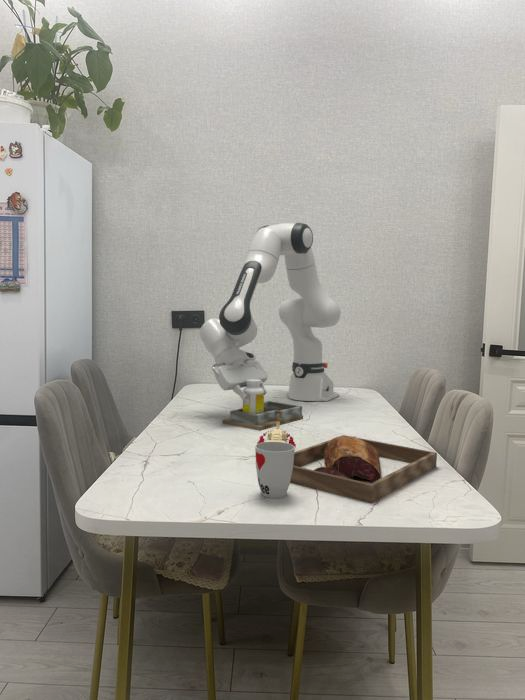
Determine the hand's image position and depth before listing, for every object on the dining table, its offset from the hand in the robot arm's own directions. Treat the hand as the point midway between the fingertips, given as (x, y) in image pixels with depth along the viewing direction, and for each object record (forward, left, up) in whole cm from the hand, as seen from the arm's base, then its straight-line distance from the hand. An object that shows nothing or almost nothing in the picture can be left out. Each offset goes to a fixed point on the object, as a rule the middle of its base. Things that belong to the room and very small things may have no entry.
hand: (255, 395), depth 187 cm
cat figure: (+21, +24, -9) cm, 33 cm away
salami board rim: (+23, +49, -9) cm, 55 cm away
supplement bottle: (0, -1, -8) cm, 8 cm away
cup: (+48, +44, -9) cm, 66 cm away
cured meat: (+26, +48, -10) cm, 55 cm away
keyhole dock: (-5, -1, -9) cm, 10 cm away
